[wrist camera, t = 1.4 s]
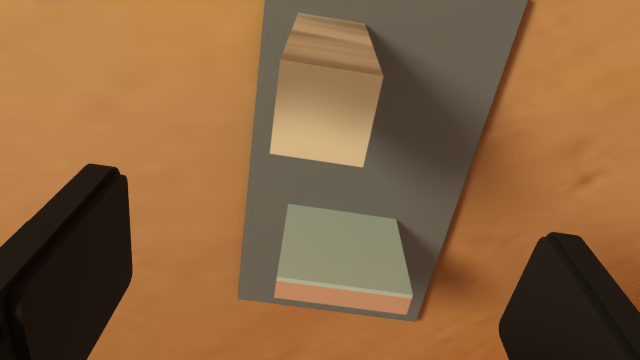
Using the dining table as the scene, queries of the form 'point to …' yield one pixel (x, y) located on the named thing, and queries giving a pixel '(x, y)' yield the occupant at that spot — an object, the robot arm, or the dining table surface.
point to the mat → (383, 131)
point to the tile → (343, 260)
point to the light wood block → (326, 92)
